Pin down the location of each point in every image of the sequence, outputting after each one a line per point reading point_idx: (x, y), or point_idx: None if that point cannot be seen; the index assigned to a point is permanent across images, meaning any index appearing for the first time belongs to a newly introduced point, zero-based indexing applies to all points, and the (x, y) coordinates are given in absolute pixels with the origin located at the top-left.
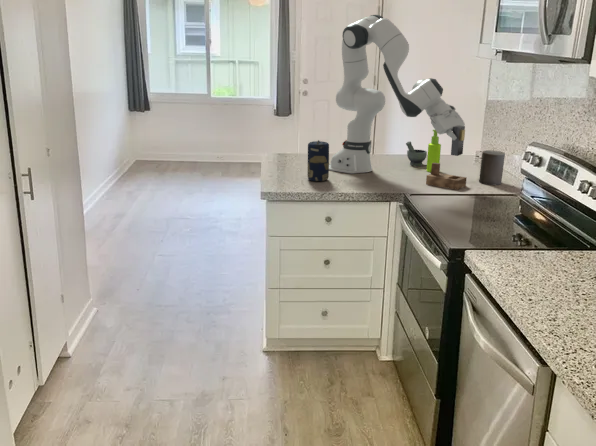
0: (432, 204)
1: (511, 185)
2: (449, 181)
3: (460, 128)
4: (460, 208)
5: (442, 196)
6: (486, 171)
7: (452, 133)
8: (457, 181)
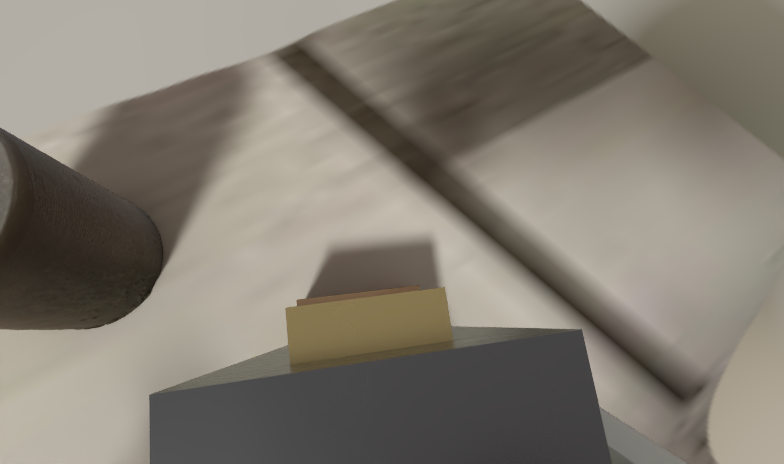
0: (720, 216)
1: (83, 140)
2: None
3: (505, 336)
4: (666, 105)
5: (580, 265)
6: (119, 240)
7: (634, 429)
8: (418, 290)
